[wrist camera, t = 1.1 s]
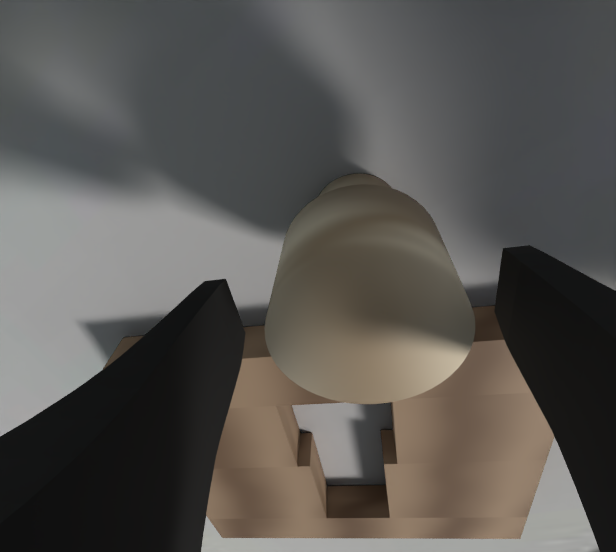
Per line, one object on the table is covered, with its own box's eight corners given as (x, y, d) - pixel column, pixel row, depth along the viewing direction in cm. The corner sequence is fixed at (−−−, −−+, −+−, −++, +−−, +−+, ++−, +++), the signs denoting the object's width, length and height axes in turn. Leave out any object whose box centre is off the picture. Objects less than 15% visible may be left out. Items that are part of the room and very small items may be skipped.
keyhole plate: (562, 299, 16) (588, 333, 14) (508, 505, 26) (520, 538, 24) (123, 337, 19) (103, 369, 17) (228, 507, 29) (222, 537, 27)
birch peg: (422, 139, 12) (485, 238, 7) (422, 261, 15) (468, 399, 10) (280, 161, 13) (239, 265, 8) (304, 274, 16) (287, 408, 11)
